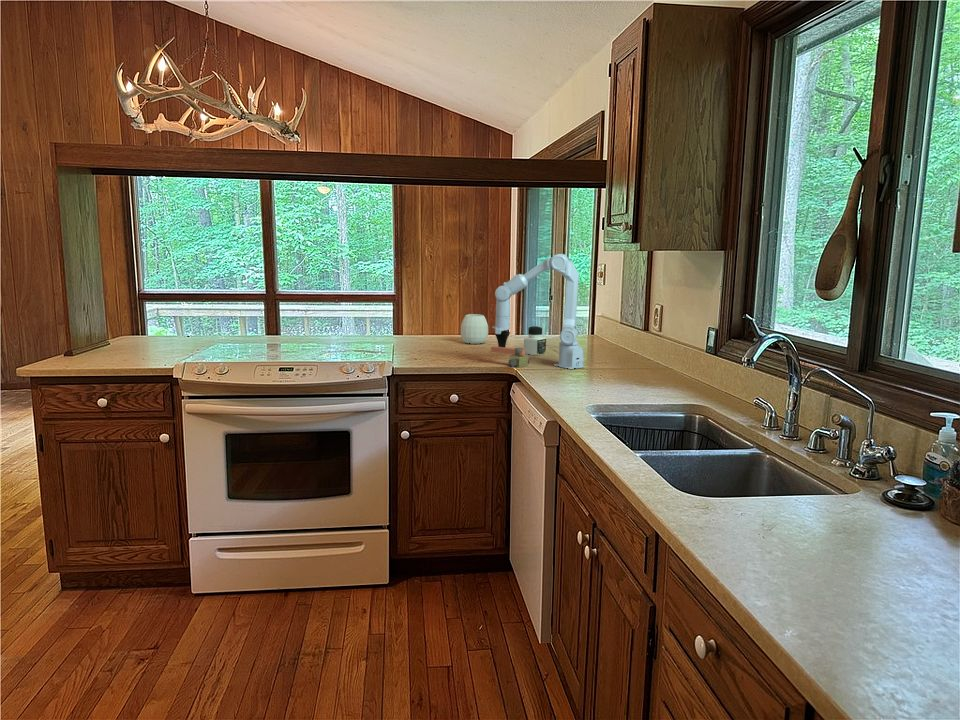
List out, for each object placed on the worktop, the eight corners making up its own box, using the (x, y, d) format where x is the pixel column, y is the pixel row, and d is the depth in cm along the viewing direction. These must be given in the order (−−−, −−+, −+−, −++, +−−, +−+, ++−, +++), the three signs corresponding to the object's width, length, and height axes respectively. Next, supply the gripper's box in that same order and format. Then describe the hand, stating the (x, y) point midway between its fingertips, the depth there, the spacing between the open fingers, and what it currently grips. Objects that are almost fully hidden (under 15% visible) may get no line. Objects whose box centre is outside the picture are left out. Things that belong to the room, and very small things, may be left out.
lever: (525, 354, 268) (525, 348, 267) (521, 355, 265) (521, 349, 265) (494, 351, 275) (494, 345, 275) (490, 352, 272) (490, 346, 272)
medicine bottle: (537, 355, 292) (537, 328, 290) (523, 354, 297) (524, 326, 294) (546, 353, 298) (546, 326, 296) (532, 352, 302) (532, 325, 300)
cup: (454, 343, 324) (455, 315, 322) (471, 340, 335) (472, 313, 332) (476, 346, 317) (477, 317, 314) (493, 343, 327) (494, 315, 325)
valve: (531, 366, 268) (531, 355, 267) (515, 368, 264) (515, 357, 263) (521, 363, 273) (522, 353, 272) (506, 365, 268) (506, 355, 268)
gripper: (497, 313, 279) (496, 346, 281) (488, 317, 265) (487, 351, 268) (514, 314, 277) (513, 347, 279) (505, 318, 263) (504, 353, 266)
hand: (501, 349), depth 273 cm, fingers closed, pressing on lever
